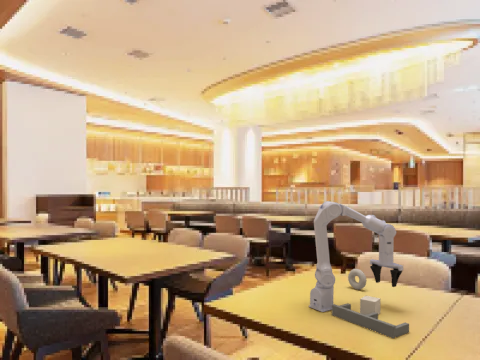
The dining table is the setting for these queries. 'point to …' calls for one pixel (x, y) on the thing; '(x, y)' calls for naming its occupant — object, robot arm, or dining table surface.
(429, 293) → the dining table surface
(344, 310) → the comb rack
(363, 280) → the donut
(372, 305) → the beige cube
